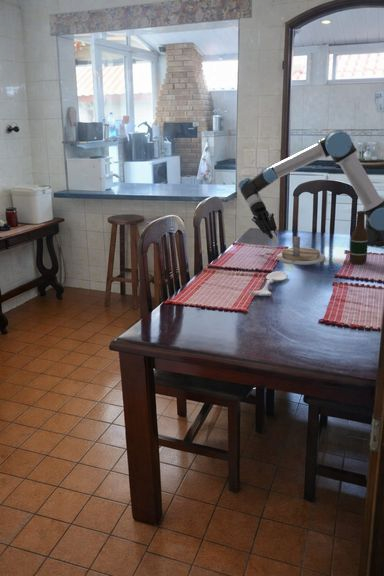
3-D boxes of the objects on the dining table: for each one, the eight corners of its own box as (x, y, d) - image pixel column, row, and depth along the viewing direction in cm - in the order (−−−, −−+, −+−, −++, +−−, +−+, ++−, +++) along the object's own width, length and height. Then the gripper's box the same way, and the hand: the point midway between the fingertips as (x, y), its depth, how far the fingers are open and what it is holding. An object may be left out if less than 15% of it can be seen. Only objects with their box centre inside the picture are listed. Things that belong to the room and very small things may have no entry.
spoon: (247, 299, 200) (247, 291, 199) (270, 275, 227) (270, 268, 226) (270, 301, 196) (270, 293, 195) (290, 277, 224) (290, 269, 223)
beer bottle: (364, 260, 244) (368, 209, 236) (368, 264, 236) (372, 212, 229) (347, 260, 245) (350, 210, 237) (350, 264, 237) (354, 213, 230)
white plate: (297, 249, 266) (297, 247, 266) (334, 257, 249) (334, 255, 249) (267, 258, 253) (267, 256, 252) (304, 267, 236) (304, 265, 235)
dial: (288, 249, 262) (289, 228, 259) (323, 253, 254) (324, 231, 250) (276, 258, 247) (277, 236, 244) (313, 262, 239) (314, 239, 236)
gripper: (263, 208, 269) (283, 245, 261) (243, 211, 263) (262, 249, 255) (269, 199, 263) (290, 236, 255) (249, 202, 257) (269, 240, 248)
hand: (276, 242), depth 255 cm, fingers closed
